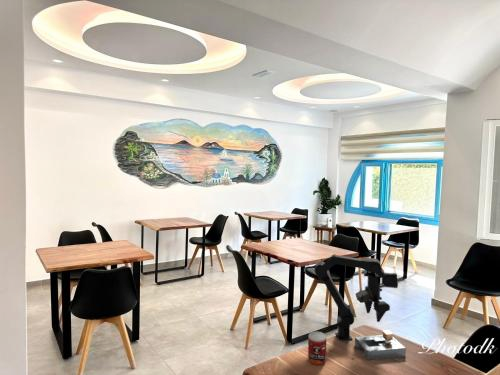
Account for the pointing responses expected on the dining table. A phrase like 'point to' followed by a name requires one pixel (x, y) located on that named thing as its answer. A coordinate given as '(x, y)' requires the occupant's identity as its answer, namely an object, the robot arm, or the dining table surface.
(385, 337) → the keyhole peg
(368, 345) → the keyhole plate
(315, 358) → the canned food
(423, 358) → the dining table surface
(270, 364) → the dining table surface
